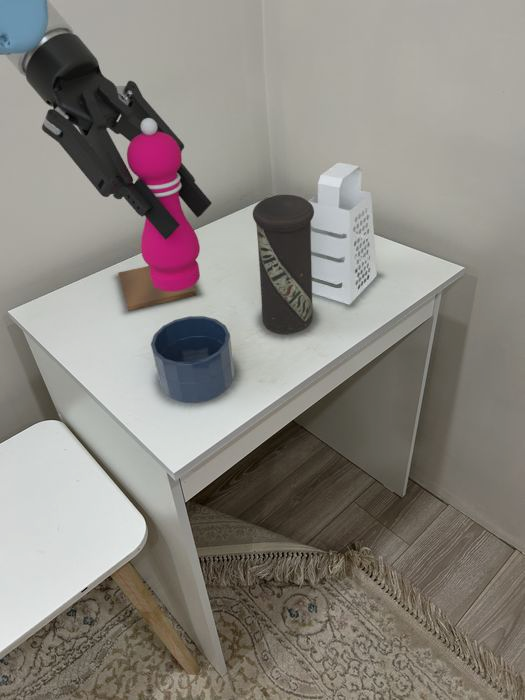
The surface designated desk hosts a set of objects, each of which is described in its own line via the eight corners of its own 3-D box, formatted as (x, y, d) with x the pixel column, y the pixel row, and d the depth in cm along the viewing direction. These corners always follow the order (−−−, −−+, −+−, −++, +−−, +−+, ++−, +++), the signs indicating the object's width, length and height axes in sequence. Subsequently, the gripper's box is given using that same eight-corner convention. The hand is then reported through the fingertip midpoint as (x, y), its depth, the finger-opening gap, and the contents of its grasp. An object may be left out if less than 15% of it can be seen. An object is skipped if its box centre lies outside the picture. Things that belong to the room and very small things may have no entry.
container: (254, 333, 86) (244, 215, 73) (267, 301, 93) (260, 188, 80) (308, 338, 84) (308, 218, 71) (318, 305, 91) (319, 190, 78)
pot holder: (128, 311, 93) (127, 306, 92) (119, 277, 102) (117, 272, 101) (196, 295, 95) (195, 290, 95) (181, 263, 104) (181, 258, 104)
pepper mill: (184, 259, 75) (159, 104, 62) (214, 279, 70) (194, 117, 58) (137, 278, 71) (101, 119, 59) (166, 301, 67) (133, 134, 54)
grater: (376, 275, 97) (386, 164, 84) (349, 304, 90) (355, 189, 78) (325, 261, 102) (327, 154, 89) (295, 287, 95) (293, 176, 83)
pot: (168, 411, 73) (159, 372, 69) (154, 364, 81) (145, 326, 77) (243, 390, 76) (239, 352, 71) (222, 346, 84) (217, 309, 79)
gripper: (98, 62, 69) (218, 207, 72) (-28, 101, 57) (123, 272, 60) (120, 15, 63) (248, 174, 67) (-15, 47, 51) (150, 239, 55)
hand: (188, 220), depth 64 cm, fingers closed on pepper mill, 5 cm apart
